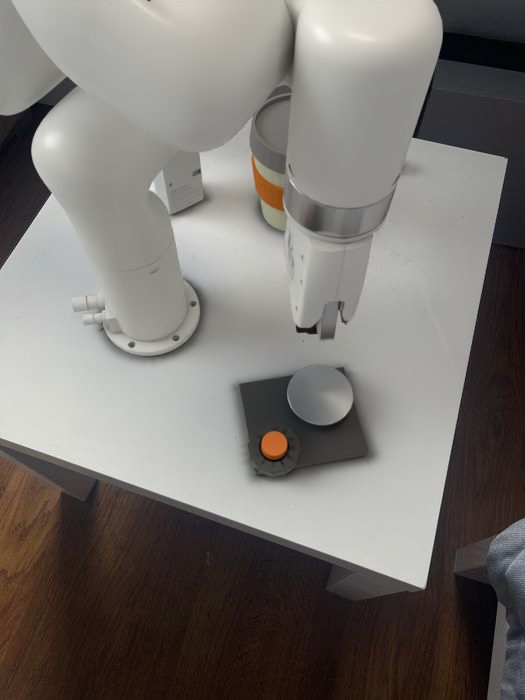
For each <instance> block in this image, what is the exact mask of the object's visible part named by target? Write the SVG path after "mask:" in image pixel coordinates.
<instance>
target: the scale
mask: <svg viewBox="0 0 525 700" xmlns="http://www.w3.org/2000/svg"><path fill="white" fill-rule="evenodd" d="M334 368H335V369H337V370H338V371H340V372H341V373H342V374H343V375H344V376H345V377H346V378H347V374H346V371H345V368H344V366H340V367H334ZM294 375H295V374H291V375H286V376H285V375H284V376H279V377H273V378H267V379H261V380H254V381H247V382H242V383H241V382H240V383H239V384H238V390H239V396H240V402H241V406H242V412H243V418H244V423H245V429H246V434H247V440H248V442H247V454H248V459H249V463H250V464H251V465H252V469H253V474H254V476H255V477H257V476H263V475H265V476H268V477H270V478H274V477H280V476H285V475H287V474H289V473H290V472H291V471H292V470H294V469H300V468H306V467H313V466H317V465H324V464H329V463H334V462H335V463H336V462H339V461H340V462H341V461H345V460H350V459H351V460H353V459H356V458H363V457H366V456H367V455H368V453H369V451H368V447H367V443H366V440H365V436H364V432H363V429H362V426H361V423H360V419H359V416H358V412H357V409H356V405H355V402H354V400H353V403H352V407H351V409H350V411H349V413H348V414H347V415H346V417H345V418H344V419H342V420H341V421H340V422H338V423H336V424H333V425H330V426H314V425H310V424H308V423H306V422H304V421H302V420H301V419H299V418H298V417H297V416H296V415H295V414H294V413H293V411H292V410H291V408H290V406H289V403H288V399H287V390H288V385H289V383H290V380H291V379H292V377H293V376H294ZM347 379H348V378H347ZM272 431H277V432H280V433H282V434H283V435H284V436H285V437H286V439H287V450H286V453H285V455H284V456H283V457H282V458H280V459H278V460H271V459H268V458H267V457H265V456H264V454H263V452H262V449H261V446H262V439H263V437H264V436H265V435H266V434H267V433H269V432H272Z"/></svg>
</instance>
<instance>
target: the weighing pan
mask: <svg viewBox="0 0 525 700" xmlns="http://www.w3.org/2000/svg"><path fill="white" fill-rule="evenodd" d="M335 368H336V367H332V366H329V365H326V364H311V365H307V366H305V367H302V368H301V369H299V370H298V371H297V372H296V373H295V374H293V375H294V376H293V377H292V379H291V380H290V383H289V385H288V390H287V399H288V403H289V406H290V408H291V410H292V411H293V413H294V414H295V415H296V416H297V417H298V418H299V419H301V420H302V421H304V422H306V423H308V424H310V425H314V426H330V425H333V424H336V423H338V422H340V421H341V420H342V419H344V418H345V417H346V415H347V414H348V413H349V411H350V409H351V407H352V403H353V401H354V391H353V390H354V389H353V386H352V384H351V382H350V381H349V379H348V378H346V377H347V376H346V377H345V376H344V375H343V374H342V373H341V372H340V371H338V370H337V369H335Z"/></svg>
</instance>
